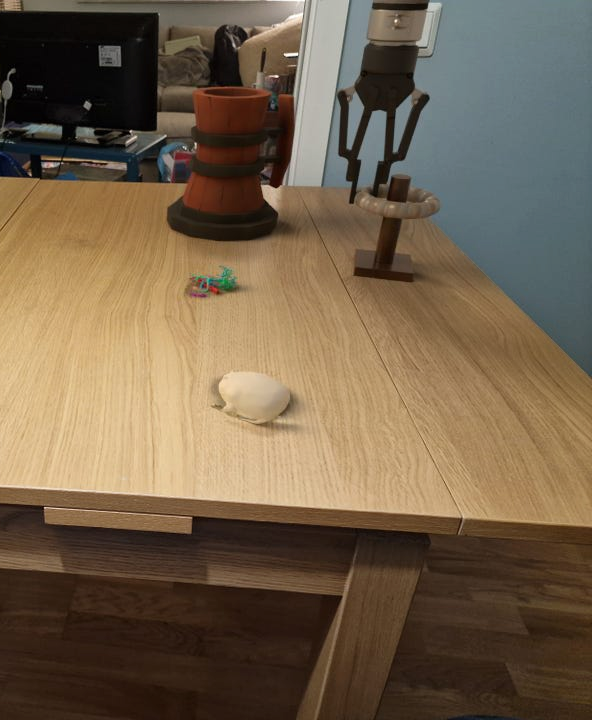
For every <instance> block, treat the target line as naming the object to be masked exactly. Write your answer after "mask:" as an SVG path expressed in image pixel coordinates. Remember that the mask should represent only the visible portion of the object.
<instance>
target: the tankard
mask: <svg viewBox="0 0 592 720" xmlns="http://www.w3.org/2000/svg"><path fill="white" fill-rule="evenodd" d="M271 97H272V92H270V91H268V90H267V89H260V88H253V87H239V86H216V87H215V86H213V87H204V88H203V87H202V88H198V89H195V90H193V91H192V100H193V106H194V109H193V110H194V116H195V125H194V126H191V127H190V136H191V137H190V138H191V140H192V141H193V142H194V143H195V144H196V149H195V153H194V154H193V155H190V157H189V162H188V168H189V169H190V171H191V173H190V176H189V178H188V181H187V183H186V187H185V190H184V193H183V195H181V196H180V197H179V198H178V199H177V200H176V201H173V203H172V204H170V205H169V206H168V207H167V208H166V221H167V223H168V225H169V227H170V229H171V230H173V231H176V232H178V233H180V234H182V235H185V236H188V237H191V238H196V239H197V238H198V239H203V240H210V241H217V242H224V241H225V242H226V241H250V240H253V239H257V238H262V237H265V236H268V235H271V234H272V233H273V231H274V230H275V229H276V227H277V226H278V221H279V212H278V211H277V210H276V209H275V208H274V207H273V205H271V204H270V203H269V202H268V201H267V200H266V199H265V197H264V192H263V188H262V182H261V179H260V178H261V177H260V174H261V173H262V172H263V171H265V167H266V164H272V169H271V172H270V173H271V174H270V179H269V182H268V186H269V187H272V188H273V189H275V190H276V189H278V188H280V187H281V186H282V183H283V181H284V178H285V175H286V173H287V170H288V169H289V165H290V162H291V160H292V152H293V146H294V138H295V129H296V120H295V118H296V115H295V97H294V95H291V94H287V93H286V94H284V93H279V94H278V96H277V126H267V127H263V126H264V123H265V118H266V114H267V111H268V108H269V104H270V101H271ZM275 135H277V136H276V142H275V143H276V144H275V154H268V155H267V154H266V155H259V147H260V145H262V144H264V143H266V142H268V139H269V138H268V137H269V136H275Z"/></svg>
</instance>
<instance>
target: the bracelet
mask: <svg viewBox="0 0 592 720" xmlns="http://www.w3.org/2000/svg"><path fill="white" fill-rule="evenodd" d="M389 184H390V183H387V184H380V185H379V190H378V195H377V198H376V197H374V196H372V190H373V185H374V183H370V184H366V185H363V186H360V187H357V189H356V194H355V198H354V204H355V205H356V207H358V208H360V209H362V210H363V211H365V212H367V213H370V214H373V215H377V216H380V217H383V216H384V217H390V218H399V219H402V220H419V219H426V218H427V219H428V218H430V217H431V216H434V215H436V214H437V213H439V212H440V210H441V202H440V199H439V197H438V196H437V195H436V194H434V193H432V192H430V191H428V190H426V189H423V188H419V187H414V186H411V185H410V187H409V192H408V196H407V201H406V203H401V202H392V201H387V200H386V199H387V194H388V189H389Z"/></svg>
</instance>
